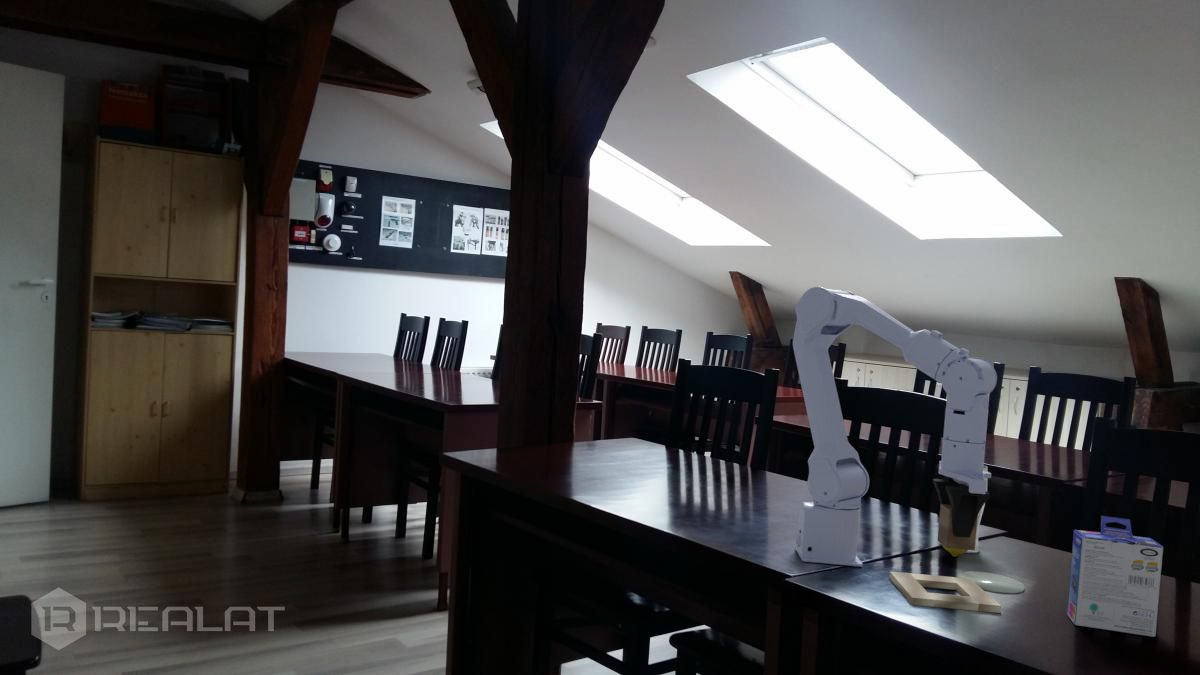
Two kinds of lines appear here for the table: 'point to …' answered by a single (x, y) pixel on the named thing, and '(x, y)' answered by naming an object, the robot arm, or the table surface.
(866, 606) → the table surface
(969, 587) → the pocket block
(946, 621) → the table surface
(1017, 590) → the disc
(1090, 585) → the ink cartridge box
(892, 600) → the table surface
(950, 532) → the walnut block
